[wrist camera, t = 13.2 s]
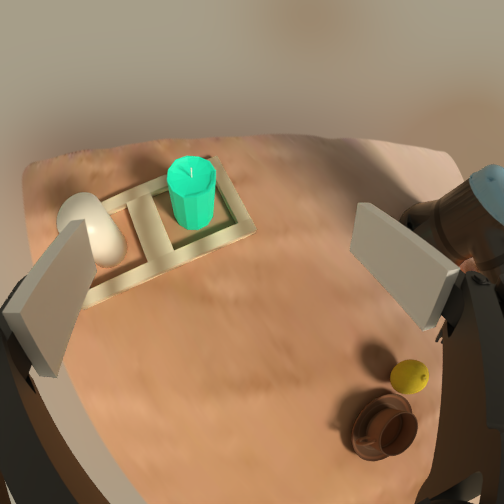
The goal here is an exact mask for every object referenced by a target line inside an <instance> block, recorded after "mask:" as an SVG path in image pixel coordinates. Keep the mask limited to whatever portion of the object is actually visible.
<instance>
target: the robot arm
mask: <svg viewBox="0 0 504 504" xmlns="http://www.w3.org/2000/svg"><path fill="white" fill-rule="evenodd" d="M349 251H350V252H351V253H352V254H353V255H354V256H355V257H356V258H357V259H358V260H359V261H360V262H361V263H362V264H363V265H364V266H365V267H366V269H367V270H368V271H369V272H370V273H371V274H372V275H373V276H374V277H375V278H376V279H377V280H378V281H379V282H380V284H381V285H382V286H383V287H384V288H385V289H386V290H387V291H388V292H389V293H390V294H391V296H392V297H393V298H394V299H395V300H396V301H397V302H398V303H399V305H400V306H401V307H402V308H403V309H404V310H405V311H406V312H407V314H408V315H409V316H410V317H411V318H412V319H413V321H414V322H415V323H416V324H417V325H418V326H419V328H420V329H421V330H422V331H425V330H428V329H431V328H434V327H436V325H437V322H438V320H439V318H440V316H441V315H442V316H443V317H444V318H445V319H446V320H445V322H444V324H443V326H442V328H441V330H440V332H439V334H438V336H437V338H436V340H435V342H438V340H439V338H441V337H443V339H442V341H441V344H443V374H442V394H441V407H440V417H439V426H438V433H437V440H436V447H435V452H434V458H433V463H432V468H431V472H430V474H429V476H428V478H427V479H426V481H425V482H424V484H423V485H422V487H421V488H420V490H419V492H418V495H417V498H416V501H415V504H473V503H470V502H468V501H469V500H471V499H473V498H475V497H477V496H479V495H481V496H480V502H479V504H504V168H503V167H501V166H498V165H494V164H491V165H488V166H486V167H484V168H483V169H482V170H480V171H478V172H475V173H473V174H472V175H471V176H470V178H469V179H467V180H466V181H465V182H463V183H462V184H460V185H459V186H457V187H456V188H455V189H453V190H452V191H450V192H449V193H447V194H446V195H444V196H443V197H442V198H440V199H439V200H434V201H428V202H423V203H418V204H416V205H414V206H412V207H411V208H409V209H408V210H407V211H405V212H404V214H403V215H402V217H401V219H400V222H398V221H397V220H395V219H394V218H392V217H391V216H389V215H388V214H386V213H385V212H383V211H382V210H380V209H379V208H377V207H376V206H374V205H373V204H371V203H358V204H357V211H356V217H355V223H354V229H353V234H352V240H351V245H350V250H349ZM472 257H473V259H474V261H475V263H476V266H477V268H478V271H479V273H478V272H475V271H468V272H466V274H465V273H463V272H462V271H461V270H460V268H459V266H460V265H461V264H462V263H463V262H464V261H465V260H467V259H469V258H472ZM96 272H97V269H96V265H95V261H94V257H93V253H92V249H91V245H90V241H89V236H88V232H87V227H86V222H85V219H80V220H72V221H70V222H69V223H68V224H67V226H66V227H65V228H64V229H63V230H62V231H61V233H60V234H59V235H58V236H57V237H56V238H55V240H54V241H53V242H52V243H51V245H50V246H49V247H48V248H47V250H46V251H45V252H44V253H43V255H42V256H41V257H40V258H39V260H38V261H37V262H36V264H35V265H34V266H33V268H32V269H31V270H30V272H29V273H28V275H26V276H25V277H24V278H23V279H21V280H20V281H19V282H18V283H17V285H16V286H15V287H14V289H13V290H12V292H11V293H10V295H9V296H8V299H6V301H5V302H4V304H3V305H2V307H1V308H0V504H11V501H10V498H9V495H8V491H7V487H6V484H7V486H8V488H9V490H10V492H11V494H12V496H13V498H14V500H15V502H16V504H110V503H109V502H108V500H107V499H106V498H105V497H104V496H103V494H102V493H101V492H100V491H99V490H98V488H97V487H96V485H95V484H94V483H93V482H92V480H91V479H90V478H89V476H88V475H87V473H86V472H85V471H84V469H83V468H82V467H81V465H80V464H79V462H78V461H77V459H76V458H75V456H74V455H73V453H72V451H71V450H70V448H69V447H68V445H67V444H66V442H65V440H64V439H63V437H62V435H61V434H60V432H59V430H58V428H57V427H56V425H55V423H54V421H53V419H52V417H51V416H50V414H49V412H48V410H47V408H46V406H45V404H44V402H43V400H42V398H41V396H40V394H39V391H38V389H37V387H36V385H35V383H34V380H33V379H32V377H31V376H30V374H29V371H30V368H31V365H32V366H33V367H34V369H35V370H36V372H37V373H38V374H39V376H43V377H53V378H57V376H58V372H59V369H60V366H61V363H62V360H63V357H64V354H65V351H66V348H67V345H68V342H69V339H70V336H71V333H72V331H73V328H74V325H75V323H76V320H77V317H78V315H79V312H80V310H81V307H82V305H83V302H84V300H85V298H86V295H87V293H88V290H89V288H90V286H91V284H92V281H93V279H94V277H95V275H96ZM5 482H6V483H5Z"/></svg>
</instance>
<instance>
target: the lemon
mask: <svg viewBox="0 0 504 504" xmlns="http://www.w3.org/2000/svg"><path fill="white" fill-rule="evenodd" d="M428 379H429V372H428V369H427V367H426V366H425V365H424V364H423V363H422V362H420V361H417V360H404V361H402V362H400V363H398V364H397V365H396V366H395V367H394V368H393V370H392V372H391V375H390V382H391V385H392V387H393V388H394V389H395V390H396V391H397V392H399V393H402V394H414V393H417V392H419V391H421V390H422V389H423V388H424V387H425V386H426V384H427V382H428Z"/></svg>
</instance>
